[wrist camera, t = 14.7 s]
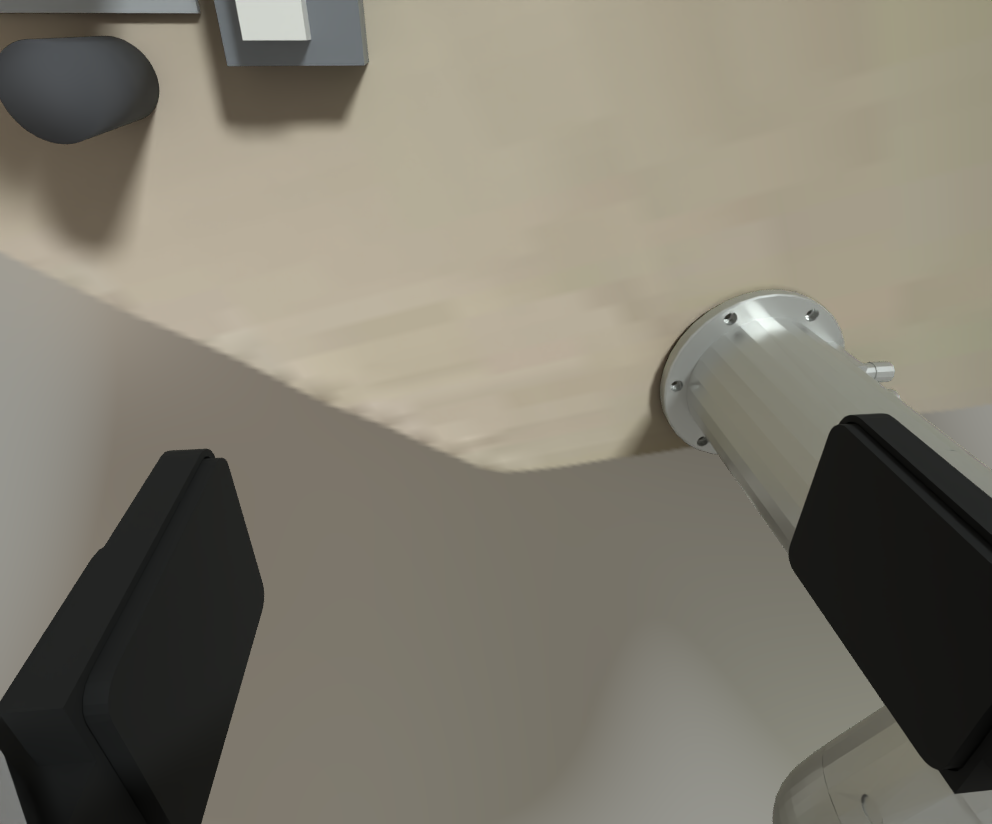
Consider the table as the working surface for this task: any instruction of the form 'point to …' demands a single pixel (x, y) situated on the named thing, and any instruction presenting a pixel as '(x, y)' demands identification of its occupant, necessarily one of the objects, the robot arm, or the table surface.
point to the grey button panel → (251, 27)
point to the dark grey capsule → (76, 86)
